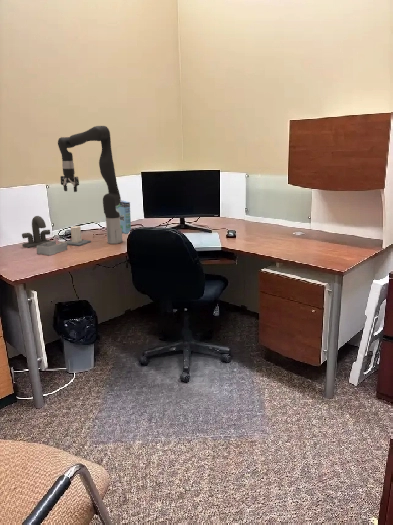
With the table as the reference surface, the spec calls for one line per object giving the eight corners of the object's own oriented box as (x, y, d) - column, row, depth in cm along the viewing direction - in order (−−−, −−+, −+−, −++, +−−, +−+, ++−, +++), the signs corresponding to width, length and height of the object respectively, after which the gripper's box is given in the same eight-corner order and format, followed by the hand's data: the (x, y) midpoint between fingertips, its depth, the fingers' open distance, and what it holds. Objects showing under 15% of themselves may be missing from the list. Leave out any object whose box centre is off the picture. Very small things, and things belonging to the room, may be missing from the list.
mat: (91, 242, 283) (90, 240, 282) (79, 246, 272) (79, 244, 272) (75, 240, 289) (74, 238, 288) (62, 244, 278) (62, 242, 278)
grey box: (67, 249, 265) (66, 241, 264) (49, 255, 252) (48, 247, 251) (55, 247, 270) (54, 240, 268) (37, 253, 257) (36, 245, 255)
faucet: (33, 250, 264) (29, 219, 258) (21, 246, 274) (17, 216, 268) (59, 244, 276) (55, 215, 270) (47, 241, 287) (43, 212, 281)
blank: (76, 242, 277) (75, 228, 274) (72, 242, 279) (70, 227, 276) (81, 241, 282) (80, 226, 279) (77, 240, 283) (75, 226, 280)
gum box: (113, 229, 319) (110, 199, 312) (118, 228, 322) (116, 199, 316) (125, 233, 305) (123, 202, 298) (131, 232, 308) (130, 202, 301)
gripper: (56, 167, 284) (59, 191, 288) (72, 168, 278) (74, 192, 283) (64, 167, 290) (66, 190, 295) (80, 167, 284) (82, 191, 289)
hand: (70, 191), depth 289 cm, fingers open, 8 cm apart
